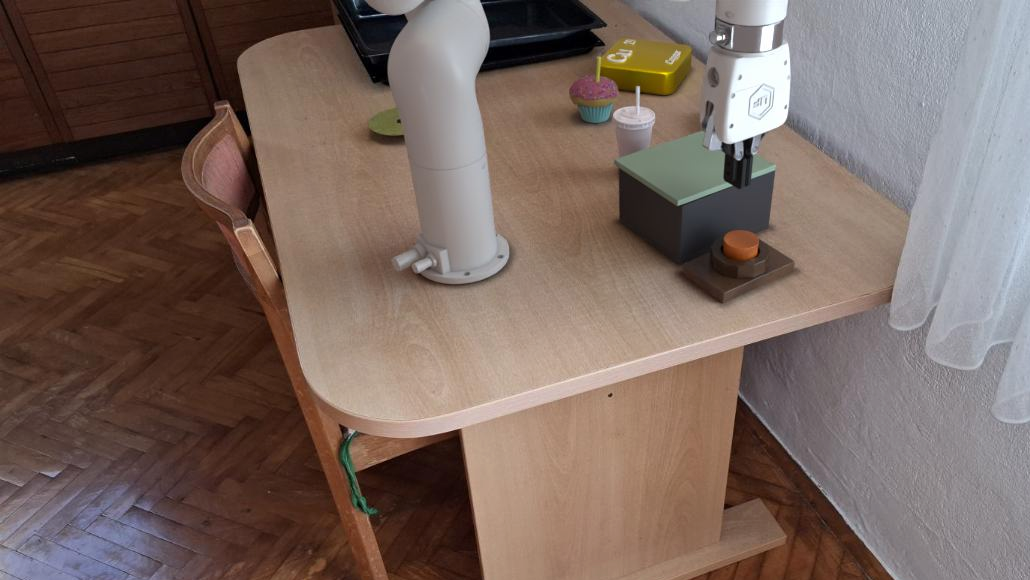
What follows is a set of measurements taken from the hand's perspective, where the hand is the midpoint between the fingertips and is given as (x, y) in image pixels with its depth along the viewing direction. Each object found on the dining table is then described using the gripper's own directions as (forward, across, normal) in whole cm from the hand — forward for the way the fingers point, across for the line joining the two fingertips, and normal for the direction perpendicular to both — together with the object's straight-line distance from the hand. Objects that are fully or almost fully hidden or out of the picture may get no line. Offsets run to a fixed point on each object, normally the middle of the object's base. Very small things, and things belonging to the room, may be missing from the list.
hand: (736, 182), depth 104 cm
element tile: (+12, +29, +58) cm, 66 cm away
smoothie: (+12, +5, +28) cm, 31 cm away
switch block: (+12, 0, -2) cm, 13 cm away
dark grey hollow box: (+12, +3, +11) cm, 17 cm away
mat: (+12, -17, +64) cm, 67 cm away
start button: (+9, 0, -2) cm, 9 cm away
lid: (+3, +3, +11) cm, 12 cm away
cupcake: (+12, +12, +49) cm, 52 cm away
